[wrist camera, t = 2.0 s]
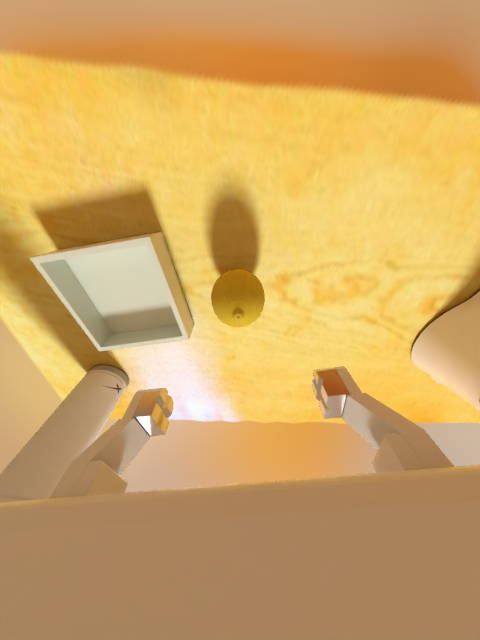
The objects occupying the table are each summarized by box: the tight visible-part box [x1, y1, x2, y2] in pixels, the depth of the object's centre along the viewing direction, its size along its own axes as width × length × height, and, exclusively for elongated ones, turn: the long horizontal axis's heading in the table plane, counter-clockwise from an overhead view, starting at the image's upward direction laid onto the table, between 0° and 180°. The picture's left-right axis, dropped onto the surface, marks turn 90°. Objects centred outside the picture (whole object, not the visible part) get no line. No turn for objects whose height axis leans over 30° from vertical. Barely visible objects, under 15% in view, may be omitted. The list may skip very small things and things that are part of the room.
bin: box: [30, 232, 194, 351], centre depth 22 cm, size 12×12×3 cm
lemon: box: [211, 269, 265, 327], centre depth 20 cm, size 6×6×8 cm
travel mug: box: [0, 365, 129, 502], centre depth 23 cm, size 6×7×20 cm
